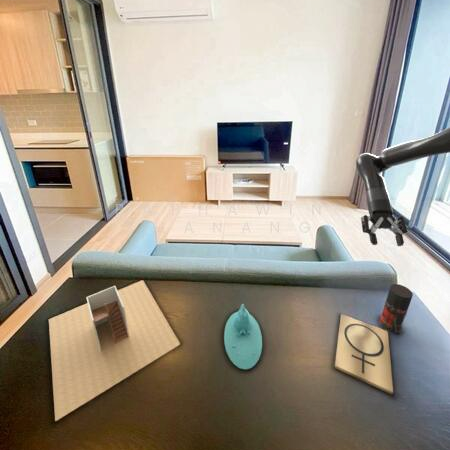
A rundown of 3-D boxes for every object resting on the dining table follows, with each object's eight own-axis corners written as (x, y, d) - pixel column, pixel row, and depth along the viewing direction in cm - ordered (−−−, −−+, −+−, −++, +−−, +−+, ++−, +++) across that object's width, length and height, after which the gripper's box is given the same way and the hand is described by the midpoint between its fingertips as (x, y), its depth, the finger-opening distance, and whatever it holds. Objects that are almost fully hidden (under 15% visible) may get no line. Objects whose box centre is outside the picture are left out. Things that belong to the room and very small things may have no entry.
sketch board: (387, 333, 80) (388, 330, 80) (392, 394, 64) (393, 392, 63) (340, 316, 86) (341, 313, 86) (334, 367, 70) (335, 365, 69)
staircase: (100, 352, 74) (89, 310, 68) (93, 326, 82) (83, 287, 76) (129, 336, 79) (122, 296, 73) (120, 313, 87) (113, 275, 81)
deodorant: (379, 315, 87) (390, 281, 81) (399, 322, 84) (411, 288, 78) (379, 327, 82) (390, 293, 76) (400, 336, 79) (413, 300, 74)
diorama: (223, 369, 69) (223, 348, 66) (224, 311, 88) (224, 292, 85) (266, 369, 69) (268, 348, 66) (258, 311, 88) (259, 292, 85)
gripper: (363, 197, 89) (372, 242, 82) (404, 198, 88) (416, 244, 81) (354, 204, 95) (361, 246, 89) (392, 205, 95) (402, 248, 88)
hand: (387, 245), depth 85 cm, fingers open, 8 cm apart
